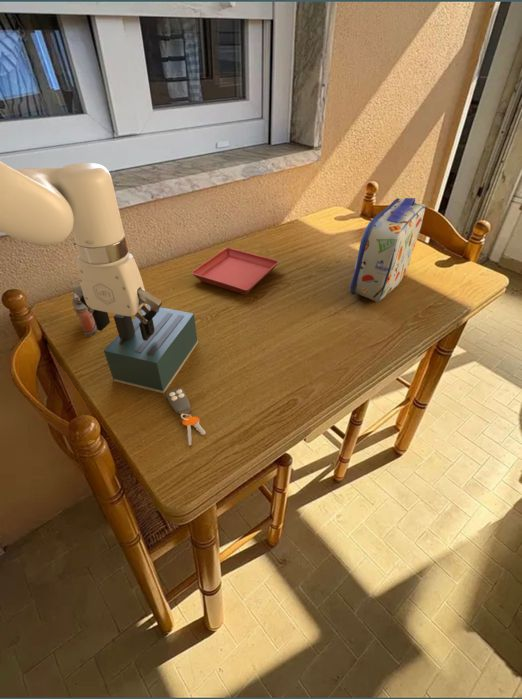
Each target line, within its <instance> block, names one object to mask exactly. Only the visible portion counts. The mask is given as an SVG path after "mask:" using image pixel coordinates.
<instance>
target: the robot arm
mask: <svg viewBox="0 0 522 699" xmlns="http://www.w3.org/2000/svg"><path fill="white" fill-rule="evenodd" d="M113 182H114V181H113V178H112V175H111V173H110V171H109V170H108V169H107V167H106V166H104V165H102V164H99V163H94V162H78V163H77V162H76V163H72V164H68V165H65V166H63V167H51V168H50V167H49V168H48V167H46V168H45V167H44V168H43V167H42V168H36V167H34V168H33V167H25V168H24V167H23V168H13V167H11V166H9V165H7V164H6V163H4V162H2V161H1V160H0V233H3V234H5V235H6V236H9V237H11V238H14V239H17V240H19V241H21V242H24V243H27V244H30V245H34V246H39V247H49V246H55V245H57V244H58V245H59V244H60V243H63V242H64V241H65V240H66V239H67V238H68V237H69V236H70V234H72V236H73V237H72V240H71V243H72V244H73V246H75V247H76V248H77V252H78V254H77V256H76V268H77V275H78V280H79V283H77V284H75V286H74V287H73V288H72V291H73V293H74V292H75V293H76V294H77V296H78V297H80V301H81V302H82V303H83V304H84V305H85V306H87V307H88V308H87V310H88V311H89V312H90V313H92V315H93V318H94V321H95V324H96V327H97V331H99V332H101V331H103V330H104V329H105V328H106V327H108V325H109V324H110V323H111V320H110V316H109V314H113V315H116V314H118V315H123V316H131V317H137V318H138V319H139V320H140V321H141V322H140V323H139V326H140V330H141V335H142V339H143V340H145V341H147V340H148V339H149V337H150V336H151V335H152V334H153V333H154V330H155V329H154V324H153V320H152V318H153V317H154V316H155V315H156V314H157V313H158V312H159V309H160V307H162V304H163V302H162V301H161V300H160V299H159V298H157V297H156V296H154V295H152V294H151V293H150V292H148V291H146V289H145V285H144V281H143V279H142V278H143V277H142V275H141V273H140V270H139V267H138V265H137V262H136V260H135V258H134V256H133V254H132V253H130V252H129V246H128V243H127V239H126V235H125V234H126V233H125V230H124V226H123V220H122V217H121V212H120V208H119V204H118V200H117V196H116V192H115V186H114V183H113ZM147 305H150V307H151V308H149V307H148V306H147ZM142 310H143V311H144V312H145V313H146V314H145V315H143V314H142V313H141V311H142Z"/></svg>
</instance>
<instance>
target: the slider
mask: <svg viewBox="0 0 522 699" xmlns="http://www.w3.org/2000/svg"><path fill="white" fill-rule="evenodd" d="M113 319H114V324H115V327H116V330H117V333H118V335H119V337H120V339H124V340H129V339H130V338H131V337H132V336H133V334H134V333H135V330H134V326H133V322H132V320H133V318H132V316H123V315H118V314H114V315H113Z"/></svg>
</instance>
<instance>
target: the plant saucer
mask: <svg viewBox="0 0 522 699" xmlns="http://www.w3.org/2000/svg"><path fill="white" fill-rule="evenodd" d="M279 263H280V262H279V260H277V259H274V258H269V257H267V256H266V257H265V256H264V255H263V256H262V255H258V254H255V253H251V252H247V251H243V250H239V249H236V248H232V247H225V248H223V249H222V250H220V251H219V252H218V253H216V254H214V255H213V256H212V257H210V258H208V260H207V261H204V263H201V264H200V265H199V266H197V267H196V268H194V269H193V270H192V271H191V274H192V276H194V277H195V278H196V279H198V280H199V281H201V282H203V283H206V284H209V285H212V286H216V287H219V288H222V289H225V290H228V291H231V292H235V293H237V294H241V295H247V294H248V293H249V292H250V291H251V290H252V289H253V288H254V287H255V286H257V285H258V284H259V283H260V282H261V281H262V280H263V279H265V278H266V277H267V276H268V275H269V274H270V273H271V272H272V271H273V270H274V269H275V268H276V267H277V266H278V265H279Z"/></svg>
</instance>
